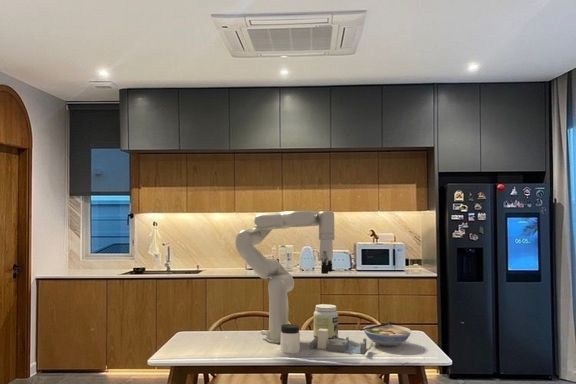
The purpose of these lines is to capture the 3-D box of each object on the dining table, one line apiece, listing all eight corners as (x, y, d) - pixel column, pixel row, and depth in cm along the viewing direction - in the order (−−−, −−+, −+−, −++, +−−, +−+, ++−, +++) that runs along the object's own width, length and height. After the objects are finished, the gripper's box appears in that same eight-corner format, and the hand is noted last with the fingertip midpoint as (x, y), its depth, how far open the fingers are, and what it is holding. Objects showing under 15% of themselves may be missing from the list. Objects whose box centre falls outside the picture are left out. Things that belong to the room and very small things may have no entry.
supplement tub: (337, 344, 241) (337, 308, 242) (311, 342, 243) (312, 307, 244) (338, 338, 253) (339, 304, 254) (314, 336, 255) (315, 303, 256)
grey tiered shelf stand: (310, 351, 227) (310, 339, 227) (315, 346, 237) (315, 334, 237) (363, 356, 220) (363, 343, 220) (366, 350, 230) (366, 338, 230)
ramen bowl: (389, 354, 223) (389, 336, 224) (351, 344, 241) (351, 327, 241) (423, 346, 239) (422, 328, 240) (385, 336, 257) (385, 320, 257)
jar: (277, 354, 222) (277, 326, 222) (283, 349, 229) (283, 323, 230) (296, 356, 219) (297, 328, 220) (301, 351, 227) (302, 324, 227)
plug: (317, 348, 229) (317, 330, 230) (319, 345, 233) (319, 328, 233) (326, 348, 228) (326, 331, 228) (328, 346, 232) (328, 329, 232)
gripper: (322, 236, 250) (323, 270, 249) (315, 237, 234) (315, 274, 233) (337, 236, 248) (337, 271, 247) (330, 237, 232) (331, 274, 231)
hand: (326, 272), depth 240 cm, fingers open, 9 cm apart
